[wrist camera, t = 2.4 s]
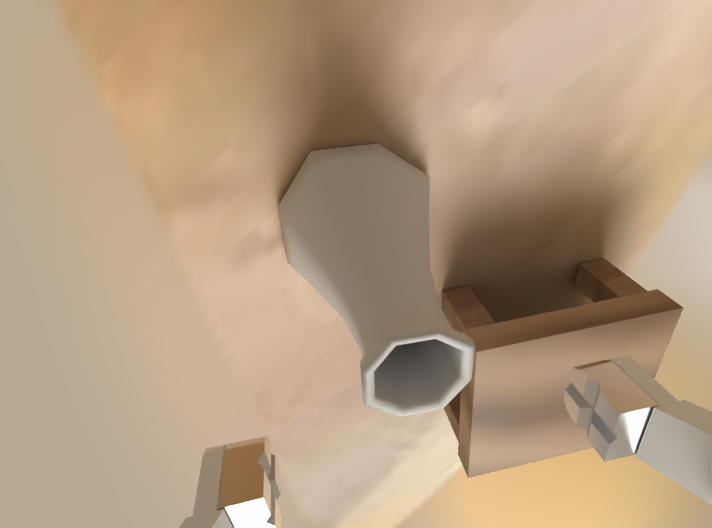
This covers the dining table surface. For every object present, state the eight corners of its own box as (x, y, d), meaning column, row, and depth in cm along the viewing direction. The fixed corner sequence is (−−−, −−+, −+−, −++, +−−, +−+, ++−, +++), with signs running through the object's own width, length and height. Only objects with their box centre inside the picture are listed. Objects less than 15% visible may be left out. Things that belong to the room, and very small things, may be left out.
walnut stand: (437, 287, 22) (476, 352, 18) (609, 253, 23) (683, 307, 19) (438, 406, 28) (468, 477, 24) (576, 375, 29) (629, 438, 24)
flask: (292, 122, 17) (314, 238, 8) (451, 158, 19) (599, 282, 10) (265, 272, 20) (261, 461, 12) (402, 289, 22) (482, 461, 14)
